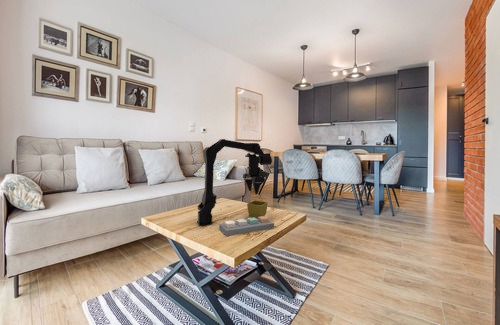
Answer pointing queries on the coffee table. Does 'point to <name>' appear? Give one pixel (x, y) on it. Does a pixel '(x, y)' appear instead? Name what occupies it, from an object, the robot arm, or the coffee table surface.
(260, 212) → the flower pot
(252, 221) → the key
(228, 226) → the key
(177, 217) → the coffee table surface
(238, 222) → the key
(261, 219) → the key
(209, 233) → the coffee table surface
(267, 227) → the keyguard frame
